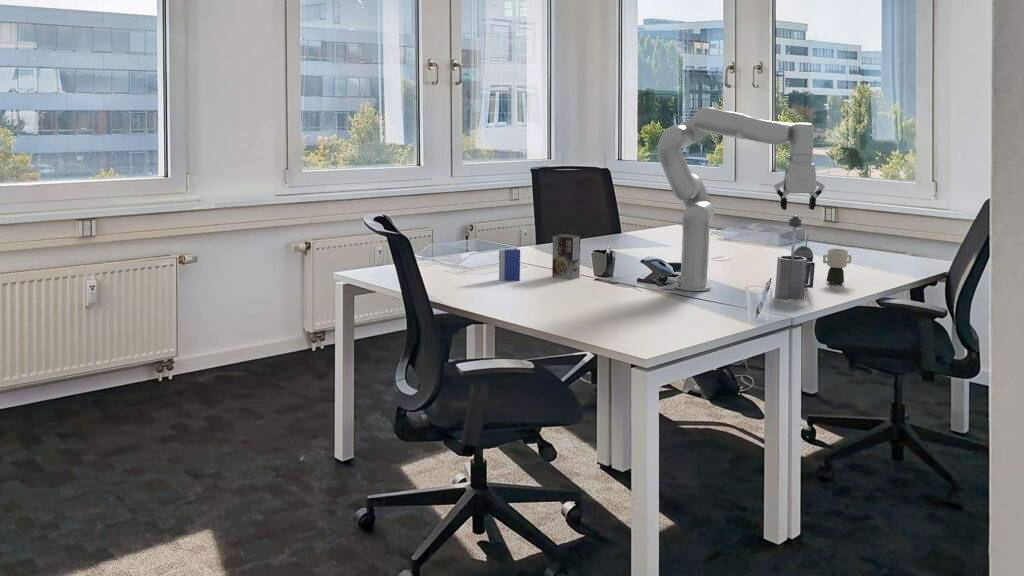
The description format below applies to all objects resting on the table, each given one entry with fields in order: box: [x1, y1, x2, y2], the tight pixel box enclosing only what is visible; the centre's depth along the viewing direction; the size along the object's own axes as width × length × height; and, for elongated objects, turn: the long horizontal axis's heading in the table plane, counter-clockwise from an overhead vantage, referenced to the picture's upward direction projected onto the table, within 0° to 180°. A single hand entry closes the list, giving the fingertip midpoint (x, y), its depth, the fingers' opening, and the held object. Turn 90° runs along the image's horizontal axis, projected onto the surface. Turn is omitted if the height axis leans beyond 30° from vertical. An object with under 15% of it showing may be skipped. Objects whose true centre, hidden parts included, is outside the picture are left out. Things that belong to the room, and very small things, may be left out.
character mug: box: [822, 248, 852, 285], centre depth 347 cm, size 11×7×13 cm, turn 93°
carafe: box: [774, 255, 816, 300], centre depth 322 cm, size 13×9×14 cm
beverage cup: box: [794, 234, 814, 284], centre depth 338 cm, size 7×7×20 cm
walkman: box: [498, 247, 521, 282], centre depth 344 cm, size 8×3×12 cm, turn 94°
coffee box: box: [551, 233, 581, 280], centre depth 352 cm, size 9×6×16 cm
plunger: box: [788, 215, 802, 260], centre depth 319 cm, size 6×6×20 cm
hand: (797, 209), depth 317 cm, fingers open, 9 cm apart
